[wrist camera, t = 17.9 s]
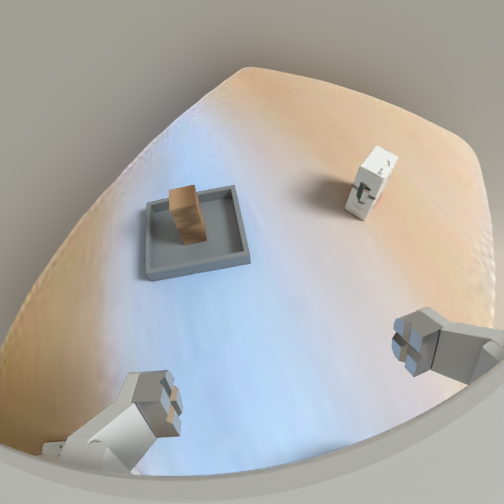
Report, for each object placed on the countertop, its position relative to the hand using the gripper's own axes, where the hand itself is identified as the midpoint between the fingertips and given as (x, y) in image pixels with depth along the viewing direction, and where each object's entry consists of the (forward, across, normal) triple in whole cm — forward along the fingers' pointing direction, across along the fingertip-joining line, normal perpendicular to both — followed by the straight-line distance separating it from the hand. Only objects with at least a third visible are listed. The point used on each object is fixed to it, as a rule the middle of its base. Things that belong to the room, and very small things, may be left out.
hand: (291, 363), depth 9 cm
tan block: (+41, +7, +2) cm, 42 cm away
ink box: (+42, -26, +2) cm, 50 cm away
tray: (+42, +7, +3) cm, 42 cm away
